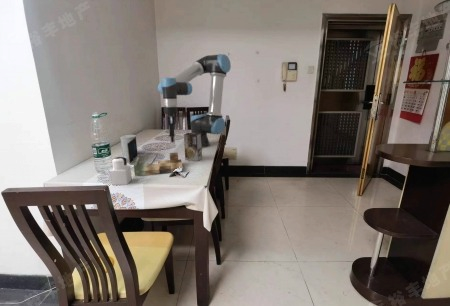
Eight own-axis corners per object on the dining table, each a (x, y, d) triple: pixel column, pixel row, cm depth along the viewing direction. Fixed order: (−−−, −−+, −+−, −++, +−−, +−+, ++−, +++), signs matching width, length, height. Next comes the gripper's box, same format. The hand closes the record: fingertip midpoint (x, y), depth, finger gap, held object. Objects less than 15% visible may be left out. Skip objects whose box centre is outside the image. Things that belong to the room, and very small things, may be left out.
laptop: (151, 164, 138) (149, 143, 134) (129, 165, 137) (126, 143, 133) (156, 156, 155) (155, 136, 152) (137, 156, 154) (135, 137, 150)
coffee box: (202, 158, 148) (201, 133, 144) (198, 161, 143) (197, 135, 138) (189, 157, 151) (188, 132, 147) (184, 159, 145) (183, 134, 141)
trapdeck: (181, 163, 139) (180, 154, 138) (182, 172, 125) (182, 162, 123) (138, 166, 134) (137, 157, 132) (134, 176, 120) (133, 165, 118)
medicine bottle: (117, 179, 116) (113, 155, 112) (132, 178, 116) (129, 155, 113) (111, 185, 109) (107, 160, 105) (127, 184, 109) (124, 160, 106)
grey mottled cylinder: (132, 156, 152) (130, 138, 149) (119, 156, 154) (116, 137, 151) (140, 152, 161) (138, 135, 158) (128, 152, 163) (125, 134, 160)
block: (178, 159, 137) (177, 152, 136) (178, 162, 133) (178, 154, 132) (170, 160, 136) (169, 152, 135) (170, 162, 132) (169, 155, 131)
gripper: (163, 105, 139) (166, 144, 145) (163, 107, 127) (166, 149, 133) (176, 105, 141) (178, 144, 147) (177, 107, 128) (179, 149, 135)
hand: (172, 146), depth 140 cm, fingers closed
